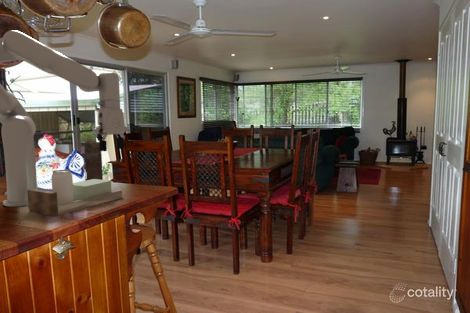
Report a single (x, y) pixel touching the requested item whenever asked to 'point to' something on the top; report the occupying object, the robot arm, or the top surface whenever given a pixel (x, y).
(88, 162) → the brown textured cylinder
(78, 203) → the channel
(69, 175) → the can
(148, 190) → the top surface
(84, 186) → the sliding block
